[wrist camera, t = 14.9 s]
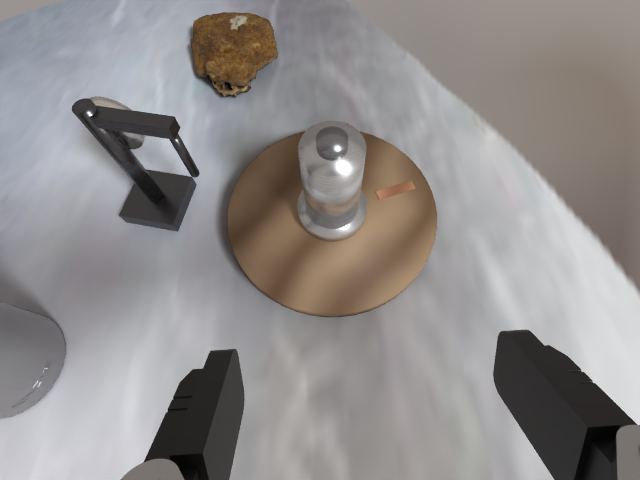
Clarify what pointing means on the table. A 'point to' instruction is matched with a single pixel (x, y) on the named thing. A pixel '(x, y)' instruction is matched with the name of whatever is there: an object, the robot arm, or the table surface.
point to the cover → (332, 181)
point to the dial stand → (149, 186)
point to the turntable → (332, 257)
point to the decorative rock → (232, 49)
